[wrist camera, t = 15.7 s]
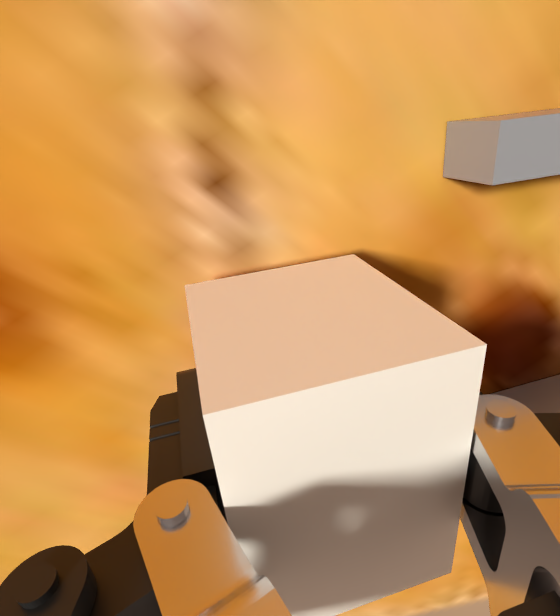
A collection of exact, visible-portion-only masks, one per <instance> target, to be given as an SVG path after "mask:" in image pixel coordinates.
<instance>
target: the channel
mask: <svg viewBox="0 0 560 616" xmlns="http://www.w3.org/2000/svg"><path fill="white" fill-rule="evenodd" d="M553 175H560V108H557V109H549V110H541V111H532V112H524V113H516V114H507V115H499V116H491V117H482V118H474V119H465V120H457V121H449V122H447V133H446V146H445V158H444V171H443V177H446V178H452V179H458V180H464V181H470V182H476V183H482V184H487V185H497V184H504V183H510V182H516V181H522V180H529V179H535V178H541V177H547V176H553ZM492 395H500V396H505V397H508V398H511V399H514V400H516V401H518V402H520V403H522V404H523V405H525V406H526V407H528V408H529V409H530V410H531V411H532V412H533V413H560V374H559V375H555V376H552V377H548V378H545V379H541V380H538V381H534V382H531V383H527V384H524V385H520V386H517V387H513V388H510V389H506V390H503V391H499V392H496V393H492Z"/></svg>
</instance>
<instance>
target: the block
mask: <svg viewBox="0 0 560 616" xmlns="http://www.w3.org/2000/svg"><path fill="white" fill-rule="evenodd" d="M185 291H186V299H187V306H188V313H189V320H190V328H191V335H192V342H193V349H194V357H195V364H196V371H197V378H198V385H199V393H200V400H201V407H202V414H203V419H204V423H205V428H206V432H207V436H208V441H209V445H210V449H211V453H212V458H213V462H214V466H215V471H216V475H217V479H218V484H219V488H220V492H221V497H222V501H223V505H224V509H225V514H226V518H227V522H228V526H229V527H230V529H231V531H232V532H233V534H234V536H235V538H236V539H237V541H238V543H239V544H240V546H241V548H242V550H243V551H244V553H245V555H246V556H247V558H248V560H249V562H250V563H251V565H252V567H253V568H254V570H255V571H256V573H257V574H258V575H259V576H261V575H264V576H266V577H267V578H268V579H269V581H270V582H271V583H272V585H273V586H274V588H275V589H276V591H277V592H278V594H279V596H280V597H281V599H282V600H283V602H284V604H285V605H286V607H287V609H288V610H289V612H290V614H291V615H292V616H335V615H338V614H340V613H343V612H346V611H348V610H351V609H354V608H357V607H359V606H362V605H365V604H367V603H370V602H373V601H375V600H378V599H381V598H383V597H386V596H389V595H392V594H394V593H397V592H400V591H402V590H405V589H408V588H410V587H413V586H416V585H419V584H421V583H424V582H427V581H429V580H432V579H435V578H437V577H440V576H443V575H446V574H448V573H451V569H452V563H453V557H454V550H455V544H456V538H457V531H458V525H459V519H460V512H461V506H462V500H463V493H464V487H465V481H466V474H467V468H468V462H469V455H470V449H471V443H472V436H473V430H474V424H475V417H476V411H477V405H478V398H479V392H480V386H481V379H482V373H483V367H484V360H485V354H486V348H487V344H486V343H484V342H483V341H481V340H480V339H478V338H477V337H475V336H474V335H472V334H471V333H469V332H468V331H466V330H465V329H464V328H462V327H461V326H459V325H458V324H456V323H455V322H453V321H452V320H450V319H449V318H447V317H446V316H444V315H443V314H441V313H440V312H438V311H437V310H435V309H434V308H432V307H431V306H430V305H428V304H427V303H425V302H424V301H422V300H421V299H419V298H418V297H416V296H415V295H413V294H412V293H410V292H409V291H407V290H406V289H404V288H403V287H401V286H400V285H398V284H397V283H396V282H394V281H393V280H391V279H390V278H388V277H387V276H385V275H384V274H382V273H381V272H379V271H378V270H376V269H375V268H373V267H372V266H370V265H369V264H367V263H366V262H365V261H363V260H362V259H360V258H359V257H357V256H356V255H354V254H352V255H346V256H341V257H335V258H330V259H324V260H319V261H314V262H308V263H303V264H297V265H292V266H286V267H281V268H276V269H270V270H265V271H259V272H254V273H248V274H243V275H238V276H232V277H227V278H221V279H216V280H210V281H205V282H200V283H194V284H189V285H185Z"/></svg>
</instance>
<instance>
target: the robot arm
mask: <svg viewBox="0 0 560 616" xmlns="http://www.w3.org/2000/svg"><path fill="white" fill-rule="evenodd" d="M149 439H150V442H149V461H148V485H147V496H146V497H145V498H144V499H143V501H142V502H141V503H140V505H139V507H138V508H137V511H136V513H135V516H134V521H133V522H132V523H131V524H130V525H129V526H128V527H127V528H126V529H124V530H123V531H122V532H121V533H119V534H118V535H116V536H115V537H113V538H112V539H110V540H108V541H107V542H105V543H103V544H101V545H100V546H98V547H96V548H95V549H93V550H91V551H90V552H88V553H86V554H85V555H84V554H83V553H82V552H81V551H80V550H79V549H77V548H75V547H72V546H64V545H62V546H55V547H51V548H48V549H45V550H43V551H40V552H38V553H37V554H35V555H33V556H31V557H30V558H28V559H27V560H25V561H24V562H23V563H21V564H20V565H19V566H18V567H17V568H16V569H14V570H13V571H12V572H11V573H10V574H9V576H8V577H7V578H6V579H5V580H4V581H3V583H2V584H1V586H0V616H292V615H291V614H290V612H289V610H288V609H287V607H286V605H285V604H284V602H283V600H282V599H281V597H280V596H279V594H278V592H277V591H276V589H275V588H274V586H273V585H272V583H271V582H270V581H269V579H268V578H267V577H266V576H264V575H261V576H259V575H258V574H257V573H256V571H255V570H254V568H253V567H252V565H251V563H250V562H249V560H248V558H247V556H246V555H245V553H244V551H243V550H242V548H241V546H240V544H239V543H238V541H237V539H236V538H235V536H234V534H233V532H232V531H231V529H230V527H229V526H228V522H227V518H226V514H225V509H224V505H223V501H222V497H221V492H220V488H219V484H218V479H217V475H216V471H215V466H214V462H213V458H212V453H211V449H210V445H209V441H208V436H207V432H206V428H205V423H204V419H203V414H202V407H201V400H200V393H199V385H198V378H197V371H196V368H194V369H190V370H185V371H181V372H177V392H175V393H171V394H166V395H162V396H159V398H158V399H157V401H156V403H155V404H154V406H153V408H152V409H151V412H150V436H149ZM460 519H461V521H462V524H463V527H464V529H465V532H466V534H467V537H468V539H469V542H470V544H471V547H472V549H473V552H474V554H475V557H476V559H477V562H478V564H479V567H480V569H481V572H482V574H483V577H484V580H485V583H486V586H487V591H488V597H489V608H490V614H491V616H560V413H533V412H532V411H531V410H530V409H529V408H528V407H526V406H525V405H523V404H522V403H520V402H518V401H516V400H514V399H511V398H508V397H505V396H500V395H492V394H486V395H483V394H482V393H481V392H479V398H478V405H477V411H476V417H475V424H474V430H473V436H472V443H471V449H470V455H469V462H468V468H467V474H466V481H465V487H464V493H463V500H462V506H461V512H460Z"/></svg>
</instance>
